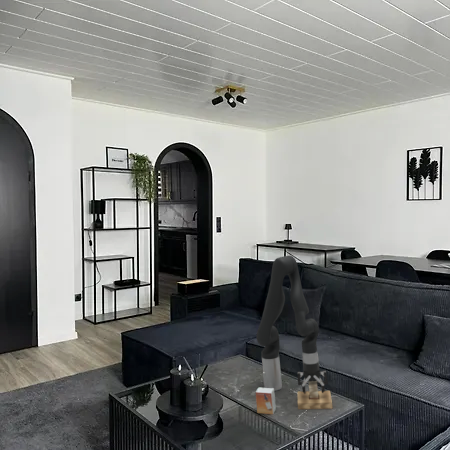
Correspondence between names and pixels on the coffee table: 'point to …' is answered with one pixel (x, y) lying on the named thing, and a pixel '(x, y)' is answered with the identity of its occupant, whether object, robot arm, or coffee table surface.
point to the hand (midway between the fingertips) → (313, 392)
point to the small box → (265, 400)
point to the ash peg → (313, 390)
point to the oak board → (314, 401)
